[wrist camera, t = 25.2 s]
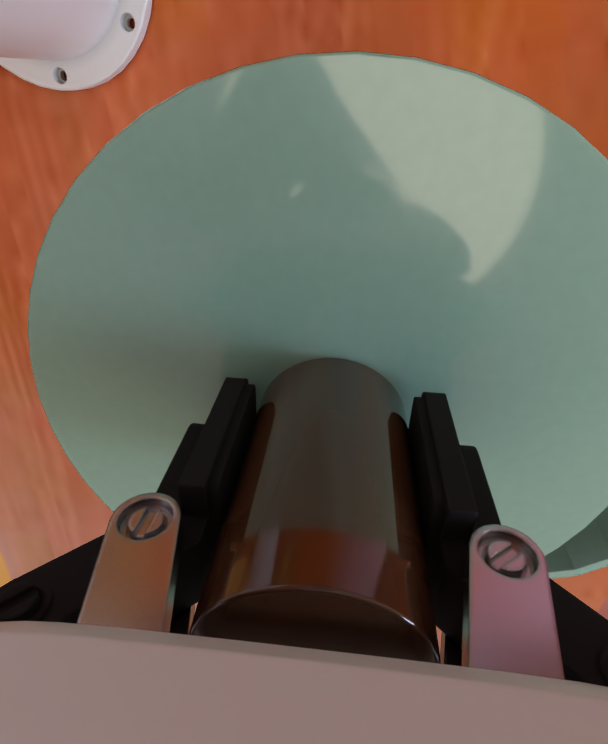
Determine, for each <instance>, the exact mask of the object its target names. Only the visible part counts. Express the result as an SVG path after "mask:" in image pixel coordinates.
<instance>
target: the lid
mask: <svg viewBox="0 0 608 744" xmlns="http://www.w3.org/2000/svg"><path fill="white" fill-rule="evenodd" d="M28 338H29V349H30V359H31V366H32V370H33V374H34V378H35V382H36V387H37V391H38V395H39V398H40V401H41V403H42V406H43V408H44V411H45V413H46V416H47V418H48V421H49V424H50V426H51V428H52V430H53V432H54V434H55V436H56V437H57V439H58V441H59V443H60V445H61V447H62V448H63V450H64V452H65V454H66V456H67V457H68V459H69V460H70V461H71V463H72V464H73V466H74V467H75V468H76V470H77V471H78V473H79V474H80V476H81V477H82V478H83V480H84V481H85V482H86V483H87V485H88V486H89V487H90V488H91V489H92V490H93V491H94V493H95V494H96V495H97V496H98V497H99V498H100V499H101V500H102V502H103V503H104V504H105V505H106V506H107V507H108V508H109V509H111V510H112V511H113V512H114V511H115V510H116V509H117V508H118V507H119V506H120V505H121V504H122V503H123V502H125V501H127V500H128V499H130V498H132V497H134V496H137V495H140V494H145V493H151V492H152V493H156V491H157V489H158V487H159V485H160V483H161V481H162V479H163V477H164V475H165V473H166V471H167V469H168V467H169V465H170V463H171V461H172V459H173V457H174V455H175V453H176V451H177V449H178V447H179V445H180V443H181V441H182V439H183V437H184V435H185V433H186V431H187V429H188V427H189V426H190V424H192V423H199V424H205V422H206V420H207V418H208V416H209V414H210V411H211V409H212V407H213V405H214V402H215V400H216V398H217V396H218V394H219V391H220V389H221V387H222V385H223V383H224V380H225V379H226V377H233V378H246V379H248V382H249V384H254V385H255V388H256V418H255V421H254V424H253V427H252V431H251V434H250V437H249V440H248V443H247V447H246V450H245V453H244V456H243V460H242V463H241V466H240V469H239V472H238V476H237V479H236V482H235V485H234V489H233V492H232V495H231V498H230V502H229V505H228V508H227V511H226V514H225V518H224V521H223V524H222V527H221V531H220V534H219V537H218V540H217V543H216V547H215V550H214V553H213V556H212V560H211V563H210V566H209V569H208V572H207V576H206V579H205V582H204V585H203V589H202V592H201V595H200V598H199V602H198V605H197V608H196V611H195V614H194V618H193V621H192V624H191V627H190V631H189V635H194V636H203V637H212V638H221V639H230V640H240V641H248V642H257V643H266V644H275V645H284V646H292V647H301V648H310V649H319V650H327V651H336V652H345V653H353V654H362V655H371V656H379V657H388V658H396V659H405V660H413V661H421V662H430V663H438V664H441V662H440V653H439V646H438V639H437V632H436V625H435V618H434V611H433V604H432V597H431V589H430V582H429V575H428V568H427V561H426V554H425V547H424V540H423V533H422V526H421V518H420V511H419V504H418V497H417V490H416V483H415V476H414V469H413V462H412V454H411V447H410V440H409V433H408V427H409V421H410V415H411V410H412V404H413V399H414V397H421V395H422V393H423V392H434V393H445V394H446V397H447V400H448V404H449V407H450V411H451V415H452V418H453V422H454V426H455V429H456V433H457V436H458V440H459V444H460V445H467V446H474V447H476V449H477V451H478V453H479V457H480V460H481V463H482V466H483V469H484V472H485V475H486V478H487V481H488V485H489V488H490V491H491V494H492V497H493V500H494V503H495V506H496V510H497V513H498V516H499V519H500V522H501V525H505V526H508V527H511V528H514V529H517V530H519V531H520V532H522V533H524V534H526V535H527V536H529V537H530V538H531V539H532V540H533V541H534V542H535V543H536V544H537V545H538V546H539V548H540V549H541V550H542V552H543V553H544V556H546V555H548V554H549V553H551V552H553V551H554V550H556V549H558V548H559V547H560V546H562V545H563V544H564V543H566V542H567V541H568V540H570V539H571V538H572V537H574V536H575V535H576V534H578V533H579V532H580V531H582V530H583V529H584V528H586V527H587V526H588V525H589V524H590V523H591V522H592V521H593V520H594V519H595V518H596V517H597V516H598V515H599V514H600V513H601V512H602V511H603V510H604V509H606V508H607V507H608V159H607V158H606V157H604V156H603V155H602V154H601V153H600V152H599V151H598V150H597V149H596V148H595V147H594V146H593V145H592V144H591V143H590V142H589V141H588V140H587V139H586V138H585V137H584V136H582V135H581V134H580V133H579V132H578V131H577V130H576V129H575V128H574V127H572V126H571V125H569V124H568V123H566V122H565V121H563V120H562V119H560V118H559V117H557V116H556V115H555V114H553V113H552V112H550V111H549V110H547V109H546V108H544V107H543V106H541V105H540V104H538V103H537V102H535V101H534V100H532V99H531V98H529V97H528V96H525V95H523V94H521V93H519V92H517V91H514V90H512V89H510V88H508V87H505V86H503V85H501V84H499V83H497V82H494V81H492V80H490V79H488V78H486V77H483V76H481V75H479V74H477V73H474V72H471V71H467V70H463V69H459V68H456V67H452V66H448V65H445V64H441V63H437V62H433V61H430V60H426V59H422V58H419V57H412V56H402V55H392V54H383V53H373V52H364V51H344V52H325V53H306V54H295V55H290V56H286V57H281V58H276V59H272V60H267V61H262V62H257V63H253V64H248V65H243V66H240V67H237V68H234V69H232V70H229V71H227V72H224V73H222V74H219V75H216V76H214V77H211V78H209V79H206V80H203V81H201V82H198V83H196V84H193V85H191V86H188V87H187V88H185V89H183V90H181V91H180V92H178V93H176V94H175V95H173V96H171V97H169V98H168V99H166V100H164V101H163V102H161V103H159V104H158V105H156V106H154V107H152V108H151V109H149V110H147V111H146V112H144V113H143V114H141V115H140V116H139V117H138V118H137V119H135V120H134V121H133V122H132V123H131V124H129V125H128V126H127V127H126V128H125V129H123V130H122V131H121V132H120V133H119V134H117V135H116V136H115V137H114V138H112V139H111V140H110V141H109V142H108V143H106V144H105V145H104V147H103V148H102V149H101V150H100V151H99V152H98V154H97V155H96V156H95V157H94V158H93V159H92V161H91V162H90V163H89V164H88V165H87V166H86V168H85V169H84V170H83V171H82V172H81V173H80V175H79V176H78V177H77V178H76V179H75V181H74V182H73V184H72V186H71V187H70V189H69V191H68V192H67V194H66V196H65V197H64V199H63V201H62V202H61V204H60V206H59V207H58V209H57V211H56V212H55V214H54V216H53V218H52V220H51V223H50V225H49V228H48V230H47V233H46V235H45V238H44V240H43V243H42V245H41V248H40V250H39V253H38V256H37V261H36V265H35V270H34V275H33V279H32V284H31V288H30V294H29V312H28Z"/></svg>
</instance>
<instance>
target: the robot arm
mask: <svg viewBox="0 0 608 744" xmlns="http://www.w3.org/2000/svg"><path fill="white" fill-rule="evenodd" d="M151 8H152V0H0V65H1V66H2V67H3V68H5V69H7V70H8V71H10V72H11V73H13V74H14V75H16V76H18V77H19V78H21V79H23V80H25V81H28V82H30V83H33V84H35V85H37V86H40V87H44V88H49V89H54V90H62V91H75V90H82V89H89V88H94V87H96V86H98V85H101V84H103V83H106V82H108V81H109V80H111V79H112V78H113V77H115V76H116V75H117V74H119V73H120V72H121V71H123V69H124V68H125V67H126V66H127V65H128V63H129V62H130V61H131V60H132V59H133V57H134V56H135V54H136V52H137V50H138V49H139V47H140V45H141V43H142V41H143V39H144V36H145V33H146V30H147V26H148V23H149V19H150V16H151ZM131 19H134V21H135V27H134V29H132V27H131V26H130V21H131ZM64 72H65V73H66V75H67V80H66V79H65V77H64ZM255 418H256V388H255V385H254V384H249V382H248V379H246V378H233V377H226V379H225V380H224V383H223V385H222V387H221V389H220V391H219V394H218V396H217V398H216V400H215V402H214V405H213V407H212V409H211V411H210V414H209V416H208V418H207V420H206V422H205V424H199V423H192V424H190V426H189V427H188V429H187V431H186V433H185V435H184V437H183V439H182V441H181V443H180V445H179V447H178V449H177V451H176V453H175V455H174V457H173V459H172V461H171V463H170V465H169V467H168V469H167V471H166V473H165V475H164V477H163V479H162V481H161V483H160V485H159V487H158V489H157V491H156V493H152V492H151V493H145V494H140V495H137V496H134V497H132V498H130V499H128V500H127V501H125V502H123V503H122V504H121V505H120V506H119V507H118V508H117V509H116V510H115V511H114V512H113V514H112V516H111V518H110V520H109V523H108V526H107V529H106V532H105V534H104V535H102V536H100V537H98V538H96V539H94V540H92V541H90V542H88V543H86V544H84V545H82V546H80V547H78V548H76V549H74V550H72V551H70V552H68V553H66V554H64V555H62V556H60V557H58V558H56V559H54V560H52V561H50V562H48V563H46V564H44V565H42V566H40V567H38V568H36V569H34V570H32V571H30V572H28V573H26V574H24V575H22V576H20V577H18V578H16V579H14V580H12V581H10V582H9V583H7V584H5V585H4V586H2V587H0V744H608V620H607V619H605V618H604V617H602V616H601V615H600V614H598V613H597V612H596V611H594V610H593V609H591V608H590V607H589V606H587V605H586V604H585V603H583V602H582V601H580V600H579V599H578V598H576V597H575V596H573V595H572V594H571V593H569V592H568V591H566V590H565V589H564V588H562V587H561V586H560V585H558V584H557V583H555V582H554V581H553V580H551V579H550V578H549V574H548V568H547V562H546V559H545V556H544V553H543V552H542V550H541V549H540V548H539V546H538V545H537V544H536V543H535V542H534V541H533V540H532V539H531V538H530V537H529V536H527V535H526V534H524V533H522V532H520V531H519V530H517V529H514V528H511V527H508V526H505V525H501V522H500V519H499V516H498V513H497V510H496V506H495V503H494V500H493V497H492V494H491V491H490V488H489V485H488V481H487V478H486V475H485V472H484V469H483V466H482V463H481V460H480V457H479V453H478V451H477V449H476V447H474V446H467V445H460V444H459V440H458V436H457V433H456V429H455V426H454V422H453V418H452V415H451V411H450V407H449V404H448V400H447V397H446V394H445V393H434V392H423V393H422V395H421V397H414V399H413V404H412V410H411V415H410V421H409V427H408V433H409V440H410V447H411V454H412V462H413V469H414V476H415V483H416V490H417V497H418V504H419V511H420V518H421V526H422V533H423V540H424V547H425V554H426V561H427V568H428V575H429V582H430V589H431V597H432V604H433V611H434V618H435V625H436V626H437V627H438V628H439V629H440V630H441V631H442V635H441V651H440V662H441V664H438V663H430V662H421V661H413V660H405V659H396V658H388V657H379V656H371V655H362V654H353V653H345V652H336V651H327V650H319V649H310V648H301V647H292V646H284V645H275V644H266V643H257V642H248V641H240V640H230V639H221V638H212V637H203V636H194V635H189V631H190V627H191V624H192V621H193V618H194V612H195V603H197V602H198V601H199V598H200V595H201V592H202V589H203V585H204V582H205V579H206V576H207V572H208V569H209V566H210V563H211V560H212V556H213V553H214V550H215V547H216V543H217V540H218V537H219V534H220V531H221V527H222V524H223V521H224V518H225V514H226V511H227V508H228V505H229V502H230V498H231V495H232V492H233V489H234V485H235V482H236V479H237V476H238V472H239V469H240V466H241V463H242V460H243V456H244V453H245V450H246V447H247V443H248V440H249V437H250V434H251V431H252V427H253V424H254V421H255Z"/></svg>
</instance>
